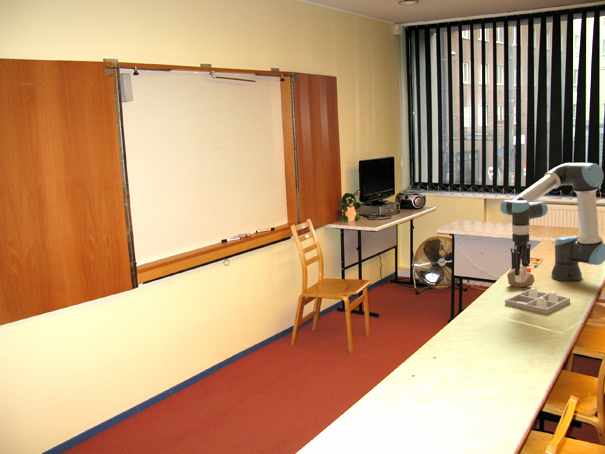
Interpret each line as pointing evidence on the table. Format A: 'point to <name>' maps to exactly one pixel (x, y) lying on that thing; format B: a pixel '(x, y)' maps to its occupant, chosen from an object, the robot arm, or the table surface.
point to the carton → (531, 303)
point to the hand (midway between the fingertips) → (521, 280)
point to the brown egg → (523, 277)
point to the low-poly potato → (517, 284)
